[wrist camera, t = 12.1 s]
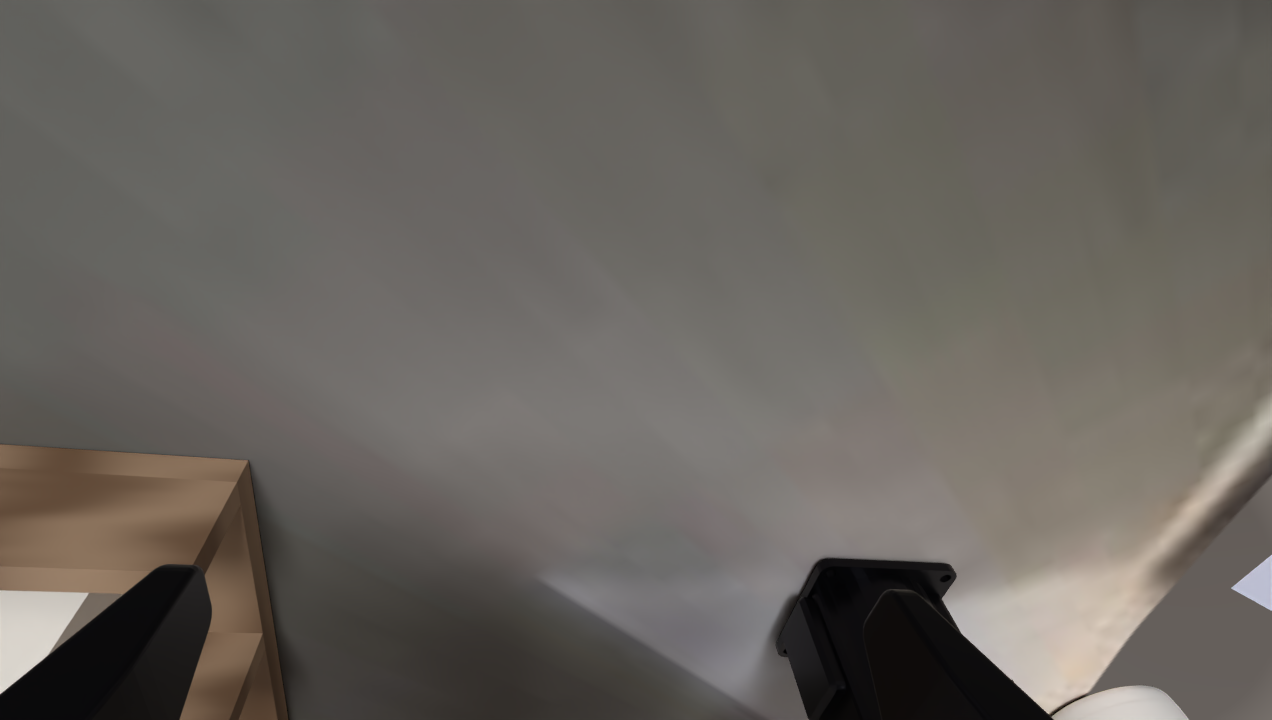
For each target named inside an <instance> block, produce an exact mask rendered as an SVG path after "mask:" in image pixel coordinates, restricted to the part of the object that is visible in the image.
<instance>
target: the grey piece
mask: <svg viewBox="0 0 1272 720" xmlns="http://www.w3.org/2000/svg"><path fill="white" fill-rule="evenodd" d="M122 595H123V594H115V593H78V592H41V591H5V590H0V694H1V693H2V692H3V691H5V690H6V689H7V688H8V687H10V686H11V685H12V684H13V683H15V682H16V681H17V680H18V679H20V678H21V677H22V676H23V675H24V674H26V673H27V672H28V671H29V670H31V669H32V668H33V667H34V666H36V665H37V664H38V663H39V662H40V661H42V660H43V659H44V658H45V657H47V656H48V655H49V654H50V653H52V652H53V651H54V650H55V649H56V648H58V647H59V646H60V645H61V644H63V643H64V642H65V641H66V640H68V639H69V638H70V637H71V636H73V635H74V634H75V633H76V632H77V631H79V630H80V629H81V628H82V627H84V626H85V625H86V624H87V623H89V622H90V621H91V620H92V619H93V618H95V617H96V616H97V615H98V614H100V613H101V612H102V611H103V610H105V609H106V608H107V607H108V606H110V605H111V604H112V603H113V602H114V601H116V600H117V599H118V598H119V597H121V596H122Z"/></svg>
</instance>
